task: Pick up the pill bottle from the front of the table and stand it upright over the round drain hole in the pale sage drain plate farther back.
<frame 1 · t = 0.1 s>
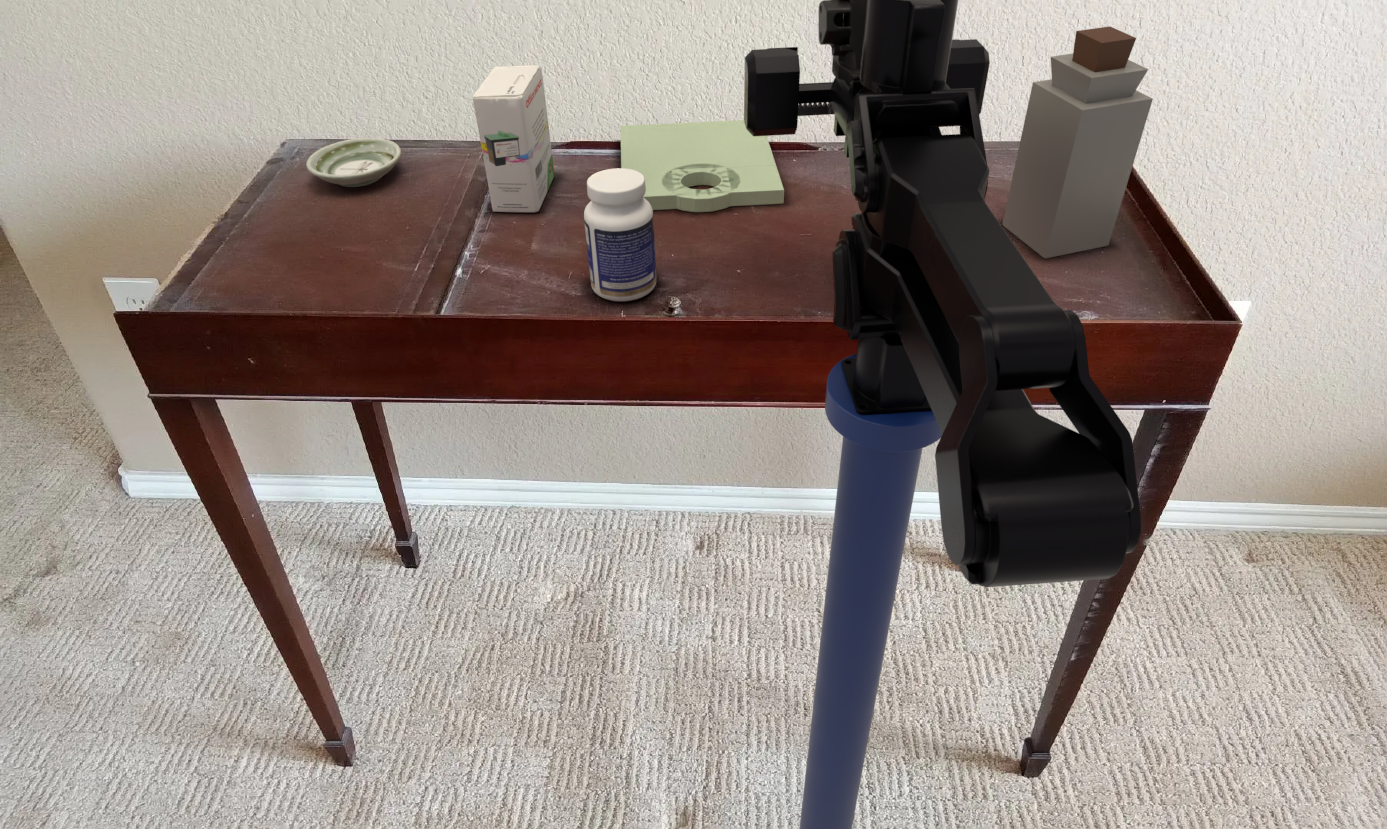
hand: (842, 54, 78), 16 cm above the table, tool horizontal, fingers open, 9 cm apart
ink box: (524, 195, 94), on the table
pill bottle: (624, 288, 80), on the table
perfume bottle: (1053, 236, 85), on the table
saucer: (359, 178, 98), on the table
drain plate: (697, 168, 98), on the table
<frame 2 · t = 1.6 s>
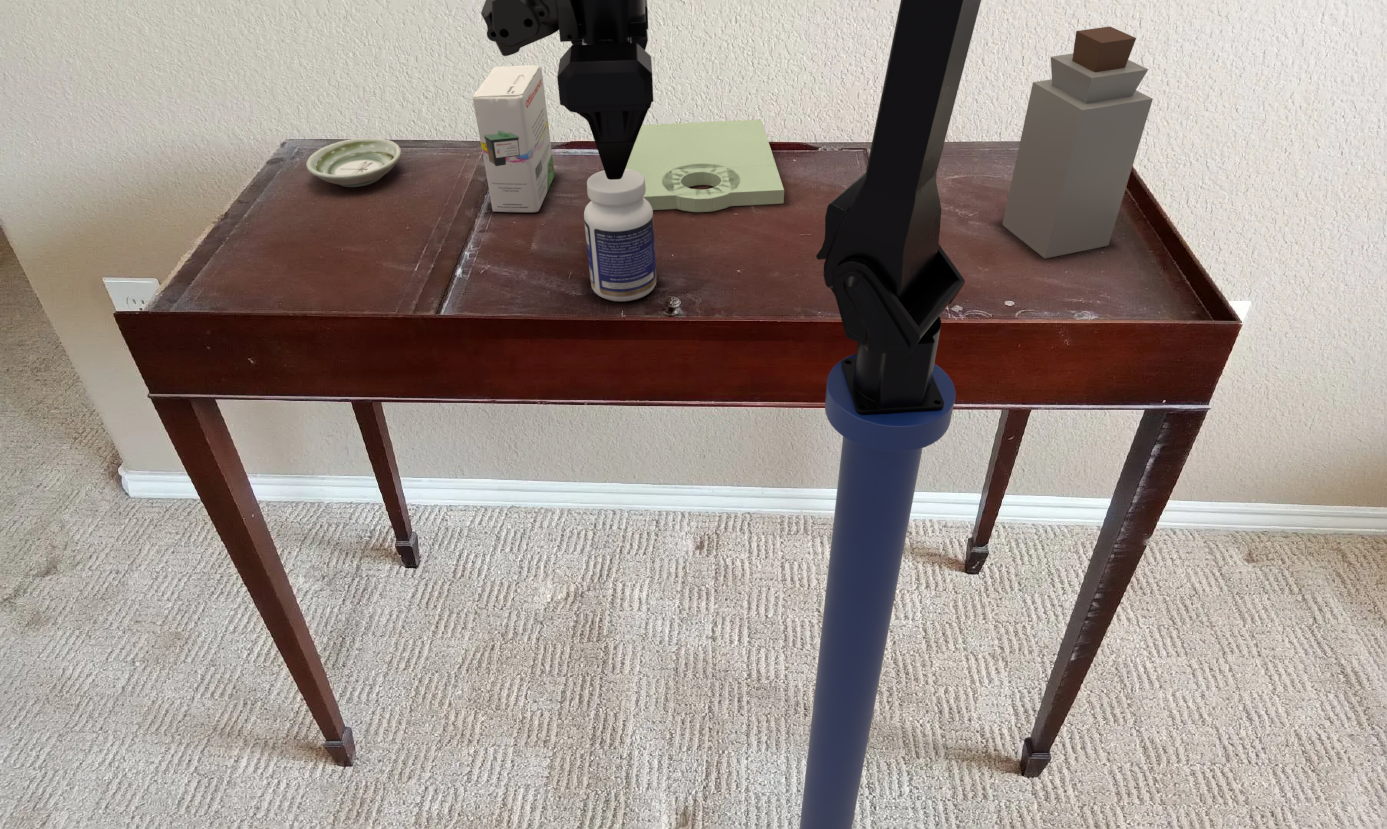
hand: (614, 152, 72), 12 cm above the table, tool pointing down, fingers open, 9 cm apart
nothing on the table moved.
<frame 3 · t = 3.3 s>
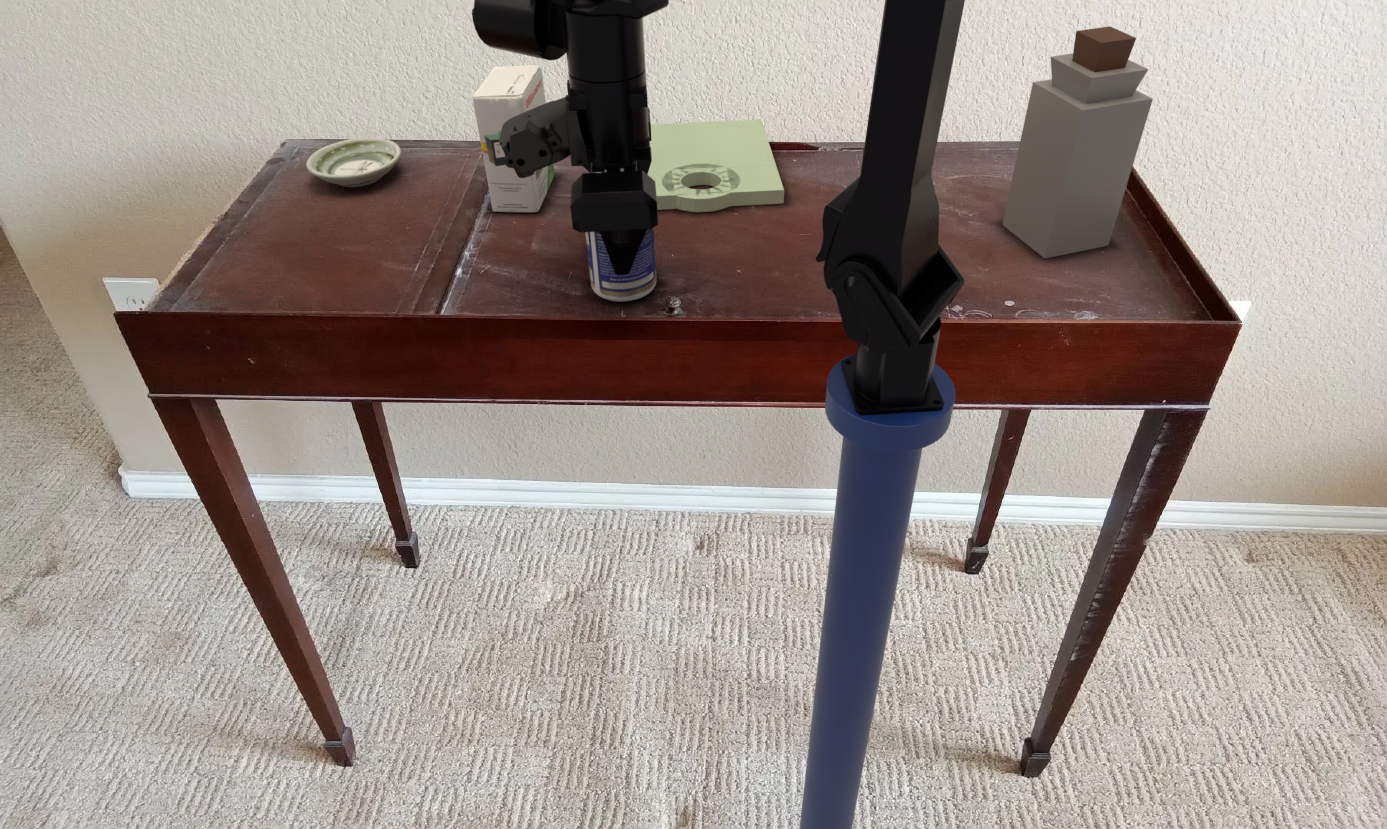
hand: (621, 255, 78), 3 cm above the table, tool pointing down, fingers closed on pill bottle, 6 cm apart
pill bottle: (624, 288, 80), on the table, touching gripper
everything else where it was.
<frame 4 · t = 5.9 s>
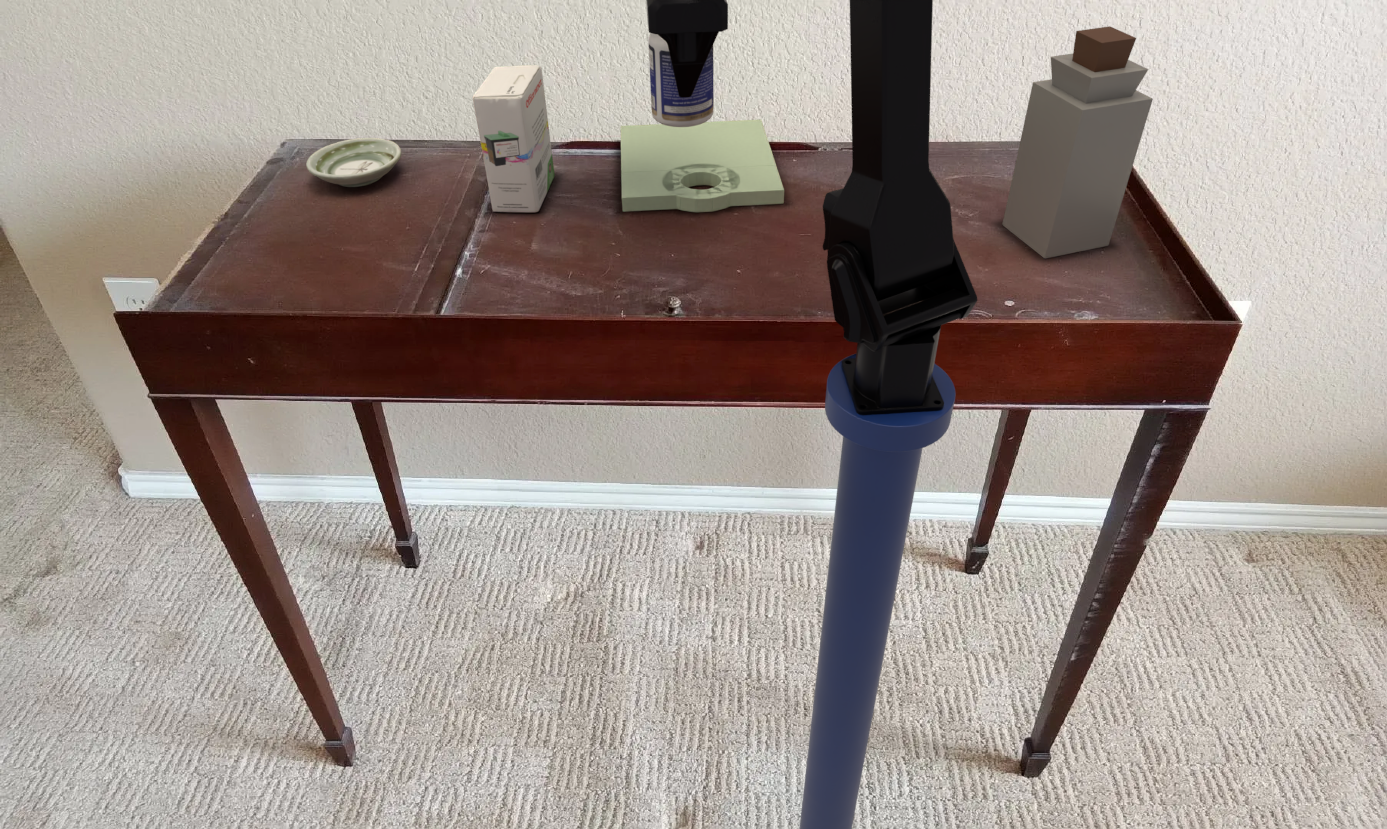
hand: (682, 84, 83), 12 cm above the table, tool pointing down, fingers closed on pill bottle, 6 cm apart
pill bottle: (682, 118, 85), point 9 cm above the table, touching gripper
everything else where it was.
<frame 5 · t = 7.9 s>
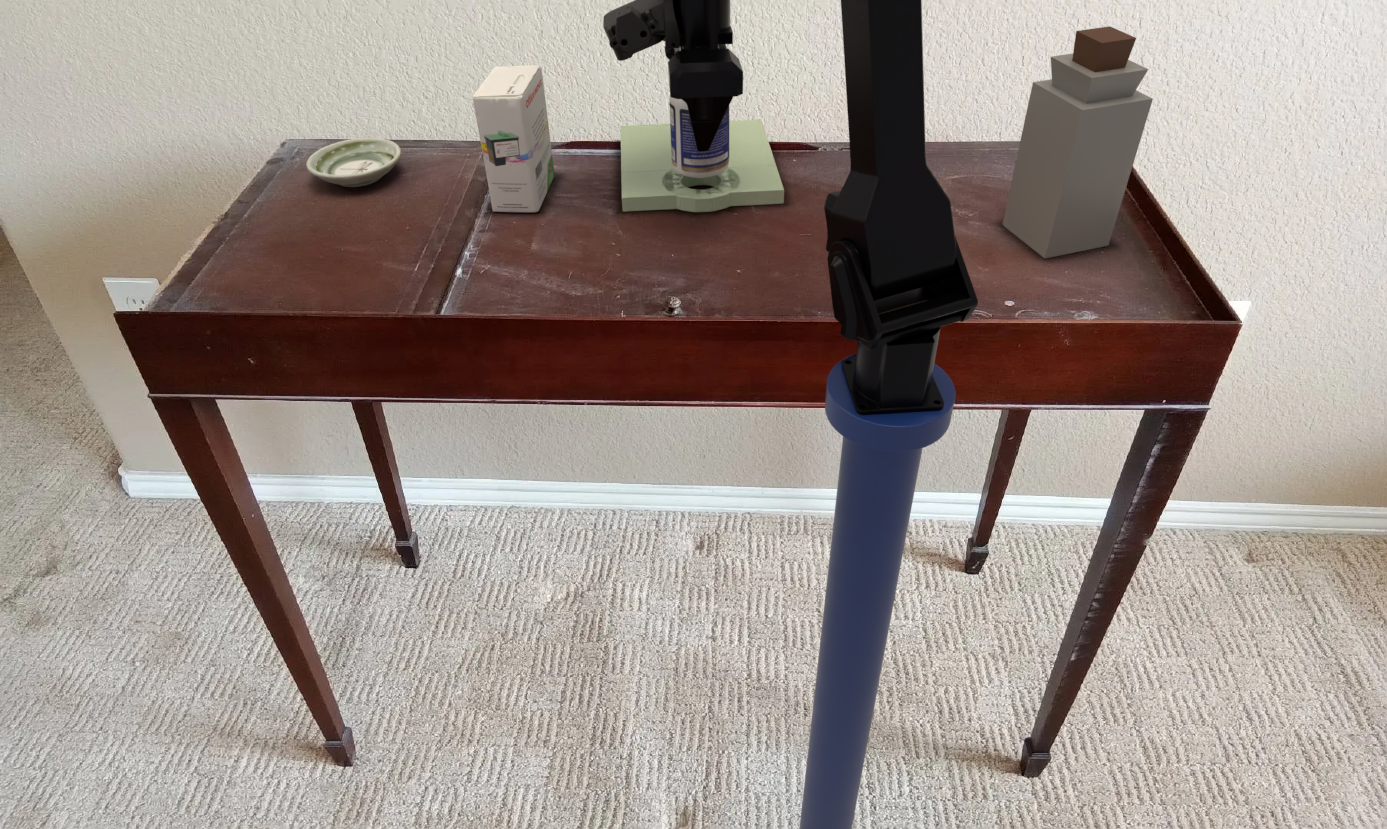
hand: (700, 137, 89), 6 cm above the table, tool pointing down, fingers closed on pill bottle, 6 cm apart
pill bottle: (700, 169, 91), point 3 cm above the table, touching gripper
everything else where it was.
when the fingers open (4 cm above the table, at t = 8.9 s): pill bottle stays where it is, resting on drain plate.
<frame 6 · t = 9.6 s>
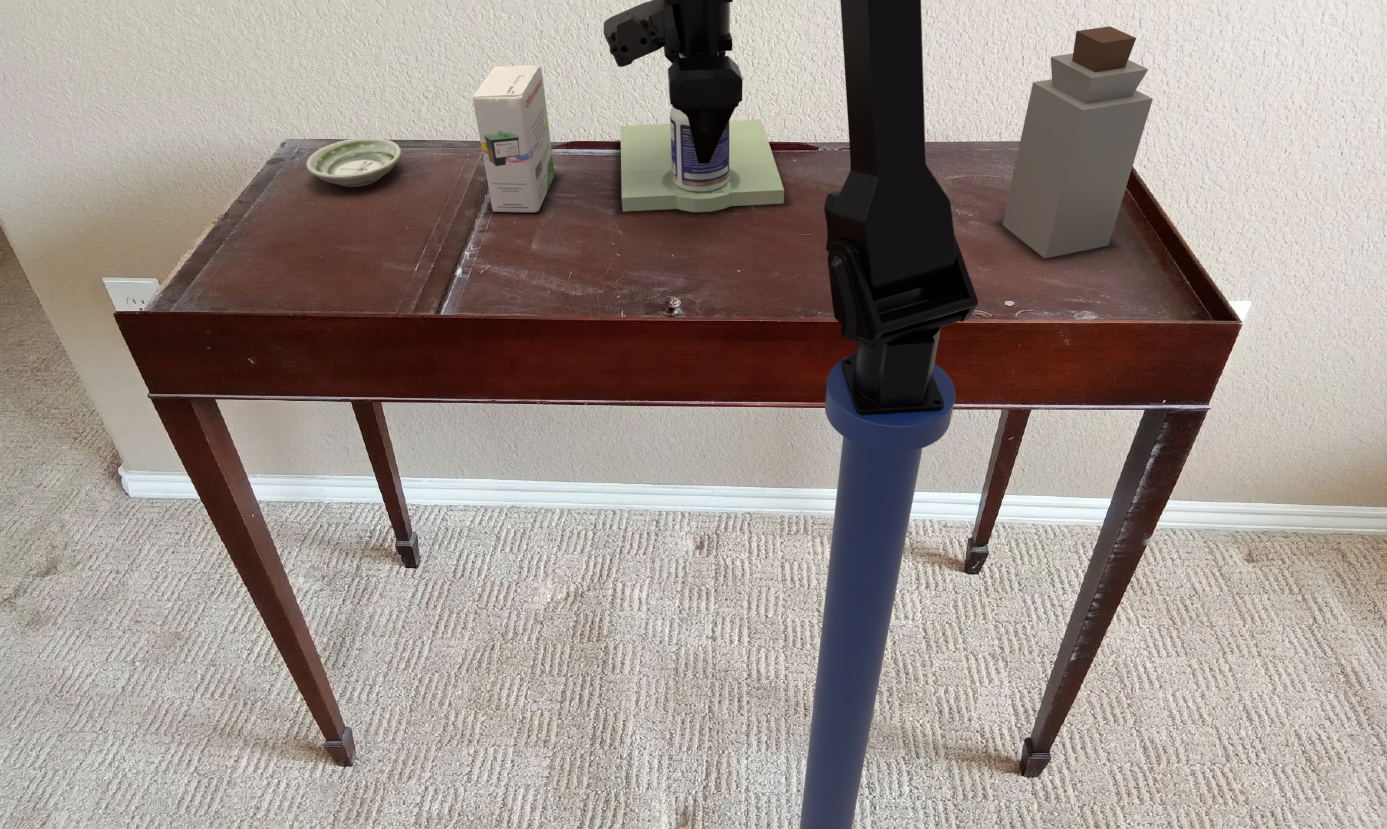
hand: (700, 143, 90), 5 cm above the table, tool pointing down, fingers open, 9 cm apart
pill bottle: (700, 182, 92), point 1 cm above the table, touching drain plate
everything else where it was.
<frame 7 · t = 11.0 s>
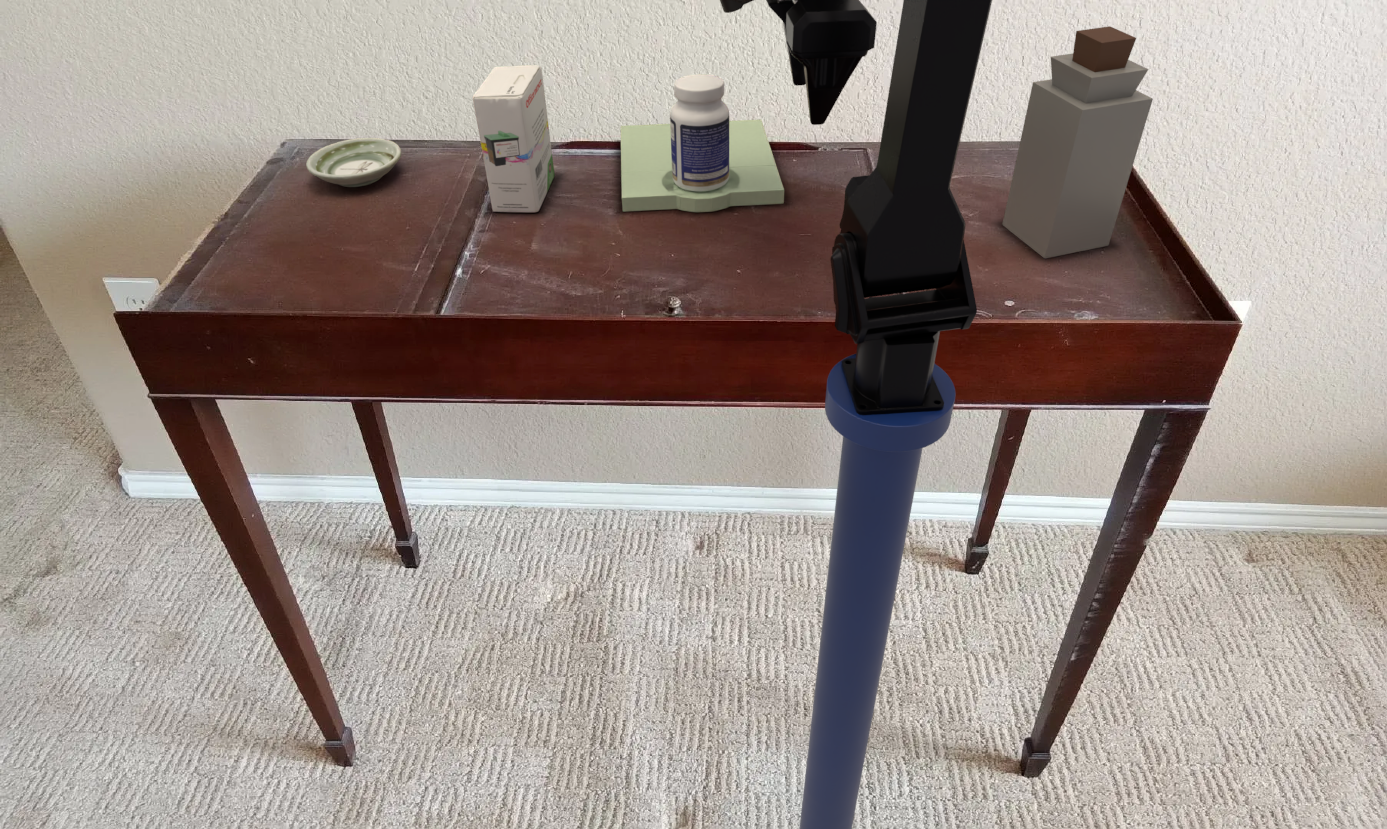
hand: (807, 103, 80), 12 cm above the table, tool pointing down, fingers open, 9 cm apart
nothing on the table moved.
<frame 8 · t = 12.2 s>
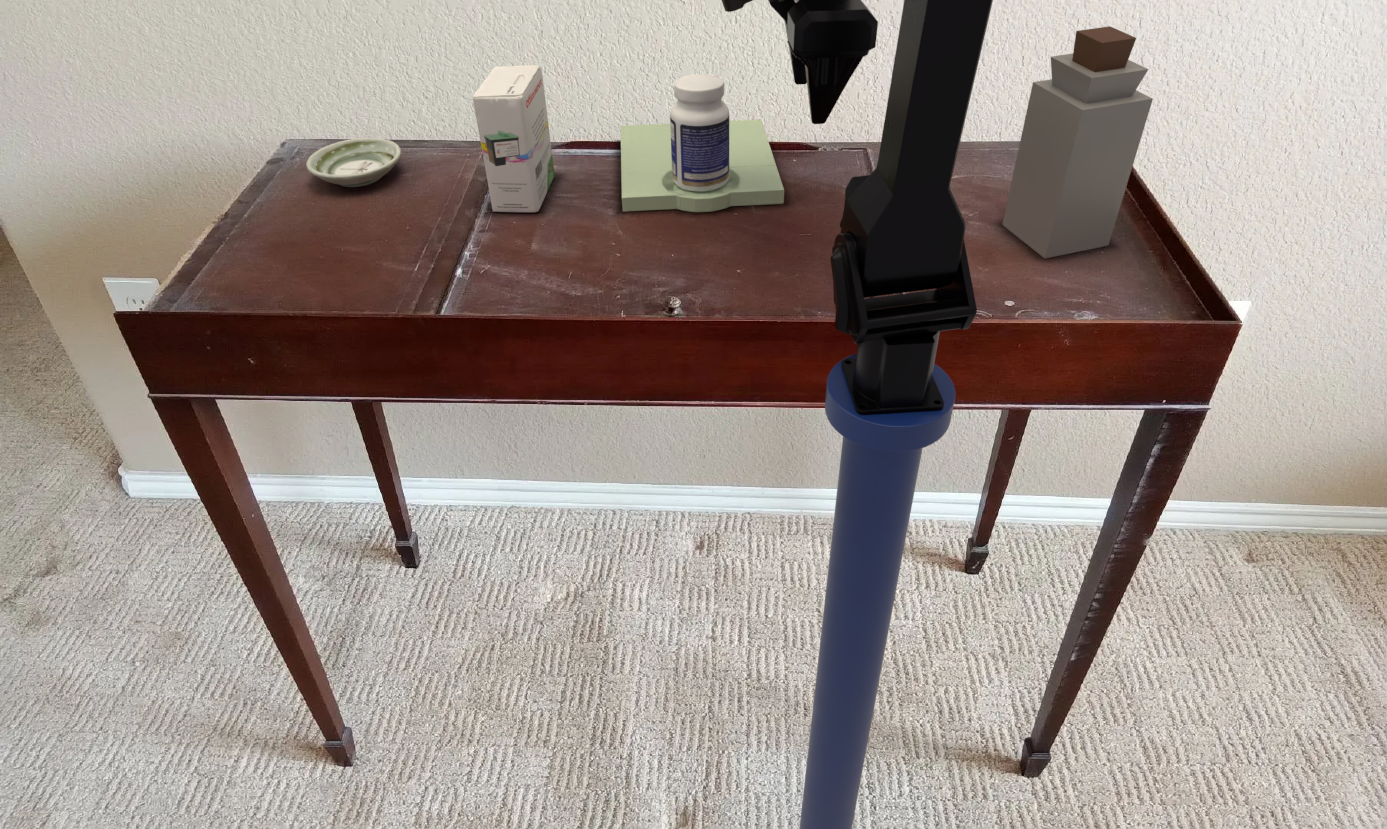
hand: (809, 102, 80), 12 cm above the table, tool pointing down, fingers open, 9 cm apart
nothing on the table moved.
at the end: pill bottle 0.2 cm from the target spot on the drain plate, point 1.3 cm above the drain plate's base; pill bottle tilted 0°; the gripper is holding nothing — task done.
